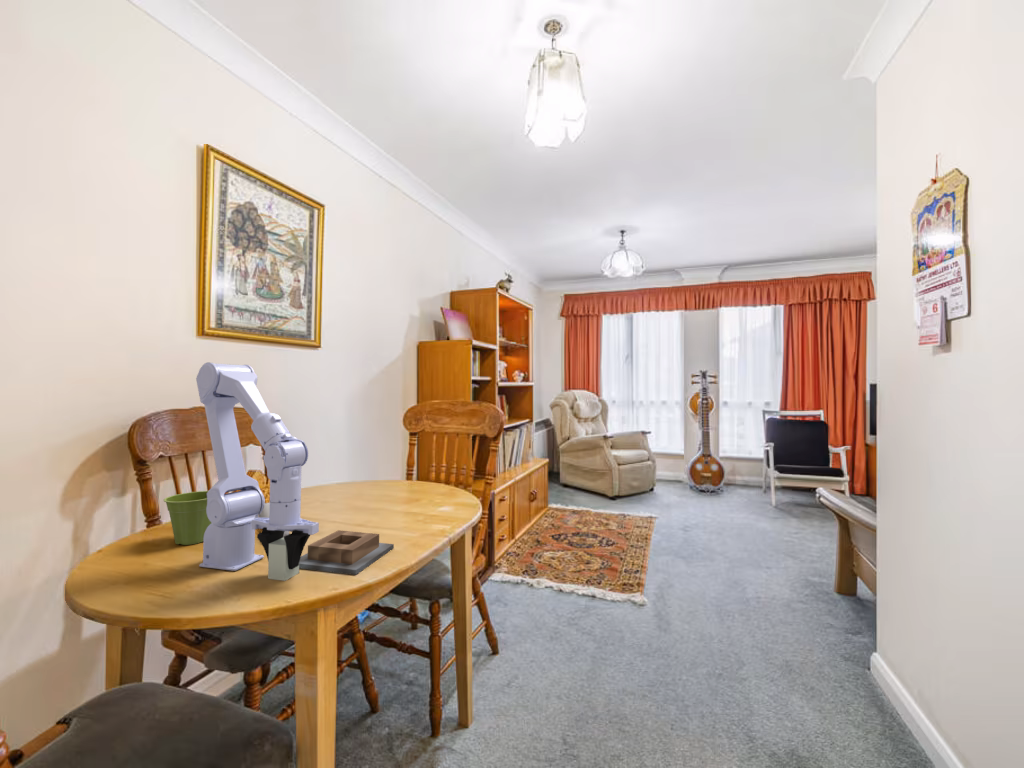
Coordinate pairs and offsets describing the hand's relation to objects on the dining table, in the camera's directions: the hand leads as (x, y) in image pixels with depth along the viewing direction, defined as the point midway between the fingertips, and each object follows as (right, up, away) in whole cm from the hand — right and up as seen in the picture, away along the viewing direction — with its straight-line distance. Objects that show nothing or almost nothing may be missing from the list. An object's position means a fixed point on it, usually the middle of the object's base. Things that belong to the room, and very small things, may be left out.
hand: (284, 566), depth 90 cm
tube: (-18, -3, +29) cm, 34 cm away
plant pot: (-33, -2, +20) cm, 39 cm away
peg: (0, -2, 0) cm, 2 cm away
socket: (+9, -2, +10) cm, 14 cm away
